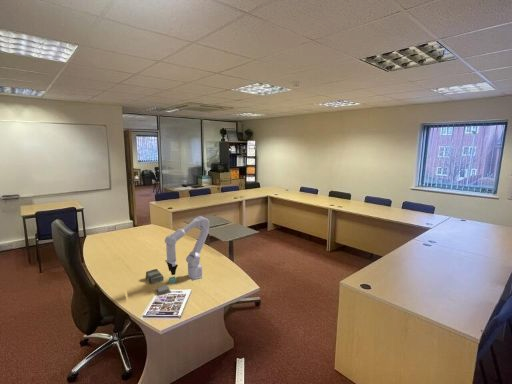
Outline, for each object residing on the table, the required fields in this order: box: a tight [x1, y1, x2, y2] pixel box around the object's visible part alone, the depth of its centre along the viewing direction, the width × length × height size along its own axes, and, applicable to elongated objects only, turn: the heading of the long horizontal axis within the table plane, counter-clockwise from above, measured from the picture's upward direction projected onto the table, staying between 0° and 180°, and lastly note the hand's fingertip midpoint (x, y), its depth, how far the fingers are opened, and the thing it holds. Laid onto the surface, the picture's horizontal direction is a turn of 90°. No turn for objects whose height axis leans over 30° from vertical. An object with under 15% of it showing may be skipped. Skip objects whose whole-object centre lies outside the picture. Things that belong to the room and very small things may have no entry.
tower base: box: [155, 286, 172, 297], centre depth 172 cm, size 8×8×2 cm
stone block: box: [145, 268, 165, 285], centre depth 189 cm, size 9×14×5 cm, turn 37°
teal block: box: [168, 275, 177, 285], centre depth 184 cm, size 4×4×4 cm
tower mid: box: [156, 284, 170, 294], centre depth 172 cm, size 6×6×2 cm
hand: (172, 272), depth 183 cm, fingers open, 7 cm apart
